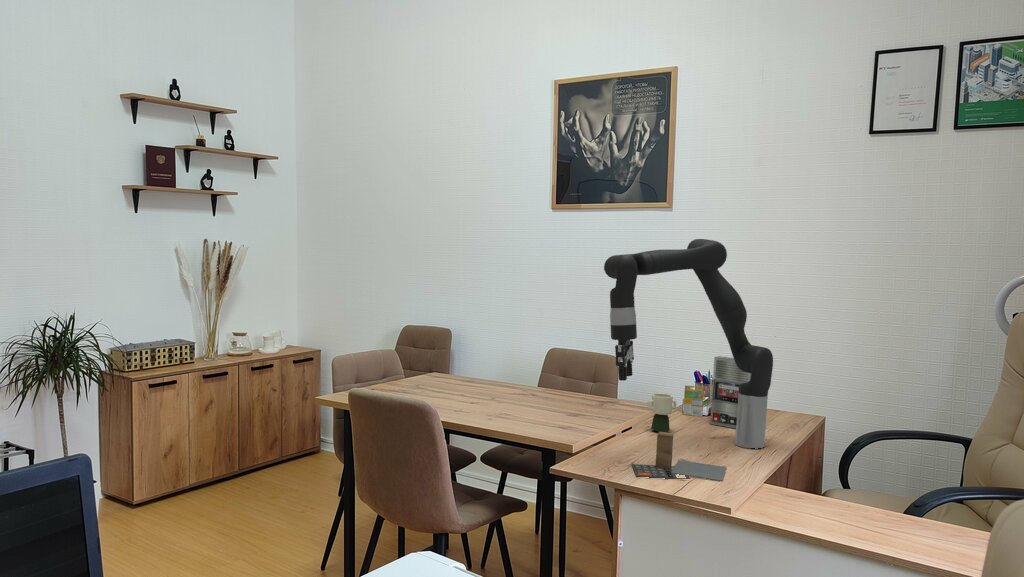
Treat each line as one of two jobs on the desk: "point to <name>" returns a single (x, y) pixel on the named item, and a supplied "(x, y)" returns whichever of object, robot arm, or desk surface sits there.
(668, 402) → the character mug
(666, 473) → the calculator
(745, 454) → the desk surface
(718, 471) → the mat
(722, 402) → the cassette tape recorder
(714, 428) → the desk surface
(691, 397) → the crayon box
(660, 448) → the block
